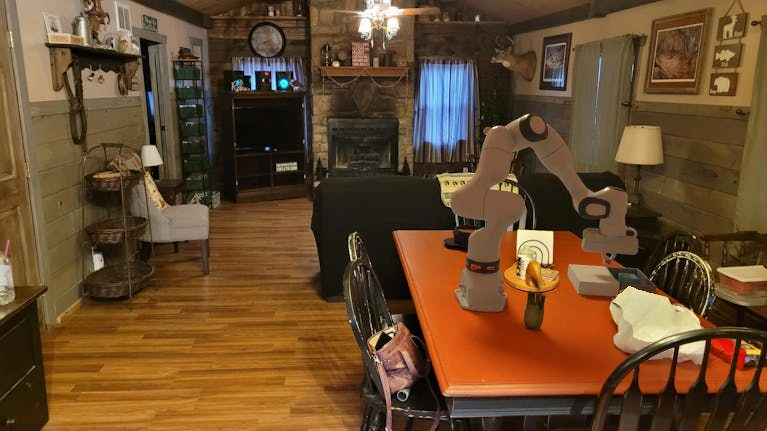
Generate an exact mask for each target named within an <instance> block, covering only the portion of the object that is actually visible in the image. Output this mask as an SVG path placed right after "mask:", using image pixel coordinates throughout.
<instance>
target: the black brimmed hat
mask: <svg viewBox="0 0 767 431" xmlns="http://www.w3.org/2000/svg"><path fill="white" fill-rule="evenodd" d="M481 228H484V226H483V227H482V226H479V225H472V224H471V225H470V224H462V225H457V226H455V227H454V229H453V230H452V235H453V237H446V238H444V239H443V243H444V244H446V245H447V246H453V247H460V248H462V249H467V250H468V242H469V236H470V235H471V233H473V232H474V231H476V230H478V229H481Z"/></svg>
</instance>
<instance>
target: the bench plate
mask: <svg viewBox="0 0 767 431" xmlns="http://www.w3.org/2000/svg"><path fill="white" fill-rule="evenodd" d="M567 267H568V269H567V278H568V279H569V281H570V283H571V284H572V286H573V288H574V289H575V291H576V292H577V294H578V295H584V296H586V295H587V296H601V297H602V296H603V297H613V296H616V295H618V292H619V285H620V284H619V283H618V281H617V280H616V279H615V278H614V277H613V275H612V274H611V273H610V272H609V271H608V267H606V266H603V265H587V264H586V265H585V264H574V263H573V264H568V266H567Z"/></svg>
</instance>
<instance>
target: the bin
mask: <svg viewBox="0 0 767 431" xmlns="http://www.w3.org/2000/svg"><path fill="white" fill-rule="evenodd" d="M607 269H608V271H609V272H610V273H611V274H612V275H613V277H614V278H615V279H616V280H617V281H618V283H619V284H620V281H619V280H618V279H617V277H618V273H629V274H635V275H636V277H637V278H638V279H639V281H638V284H624V283H622V287H621V288H620V286H619V292H620V291H621V290H623V289H626V288H627V287H628V286H631V287H634V288H636V289H638V290H642V291H646V292H649V293H654V294H655V295H656V292H657V291H656V290H657V285H656V284H655V283H654V282H653V281H652V280H651V279H650V278H648V277H647V276H646V275H645V274H644V272H643V271H641V269H640V268H635V267H634V268H633V267H621V266H620V267H619V266H607ZM619 292H618V294H619Z"/></svg>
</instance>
